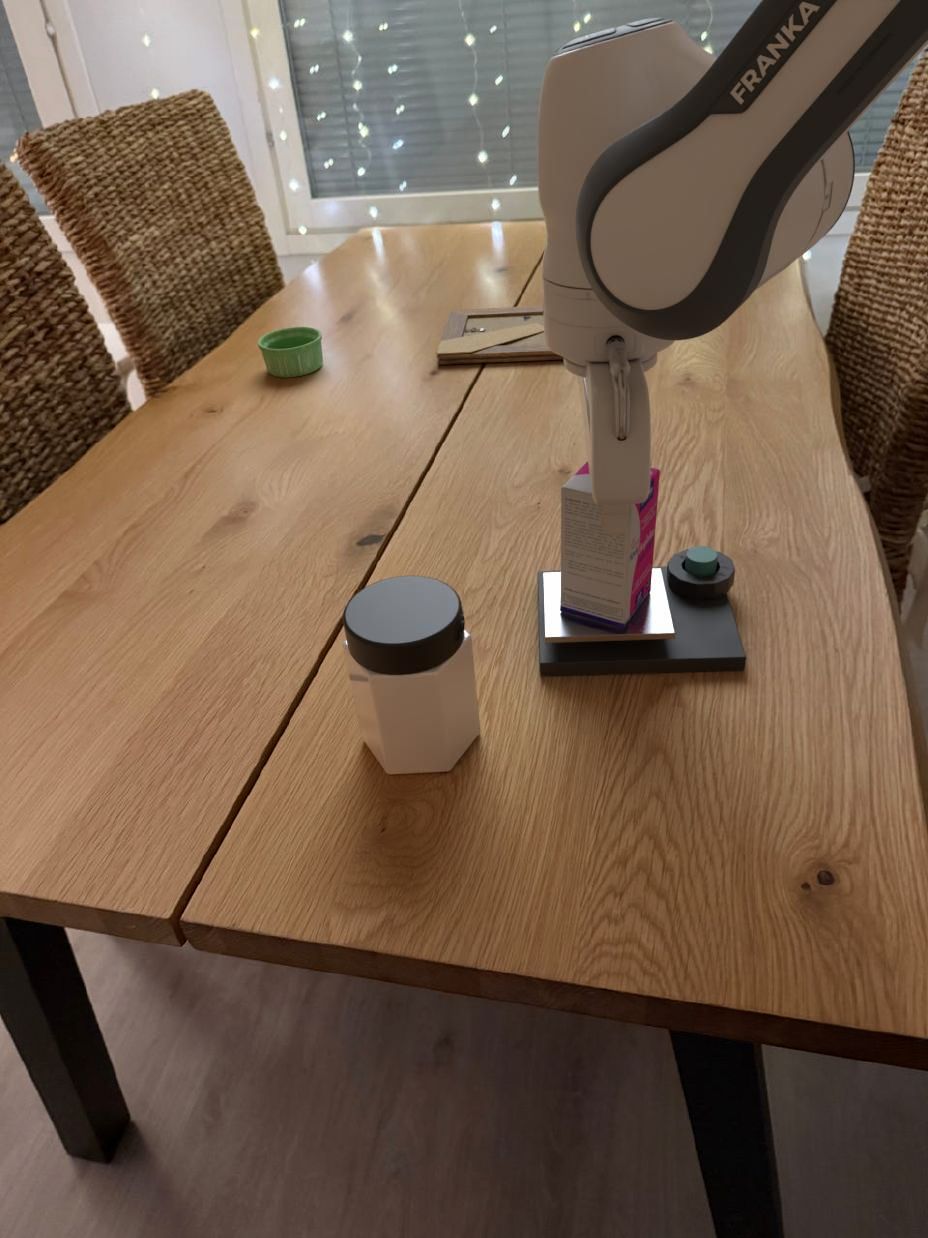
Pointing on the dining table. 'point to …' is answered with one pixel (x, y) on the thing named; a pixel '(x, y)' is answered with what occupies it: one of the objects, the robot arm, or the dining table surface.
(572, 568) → the supplement box
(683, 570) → the scale
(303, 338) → the ramekin
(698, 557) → the tare button
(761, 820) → the dining table surface
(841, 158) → the robot arm
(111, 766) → the dining table surface
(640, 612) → the scale pan
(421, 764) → the jar
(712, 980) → the dining table surface
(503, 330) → the picture frame
